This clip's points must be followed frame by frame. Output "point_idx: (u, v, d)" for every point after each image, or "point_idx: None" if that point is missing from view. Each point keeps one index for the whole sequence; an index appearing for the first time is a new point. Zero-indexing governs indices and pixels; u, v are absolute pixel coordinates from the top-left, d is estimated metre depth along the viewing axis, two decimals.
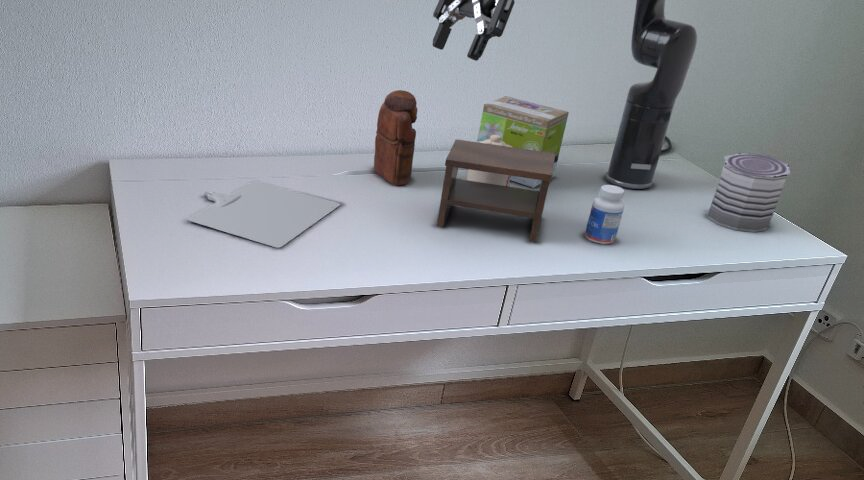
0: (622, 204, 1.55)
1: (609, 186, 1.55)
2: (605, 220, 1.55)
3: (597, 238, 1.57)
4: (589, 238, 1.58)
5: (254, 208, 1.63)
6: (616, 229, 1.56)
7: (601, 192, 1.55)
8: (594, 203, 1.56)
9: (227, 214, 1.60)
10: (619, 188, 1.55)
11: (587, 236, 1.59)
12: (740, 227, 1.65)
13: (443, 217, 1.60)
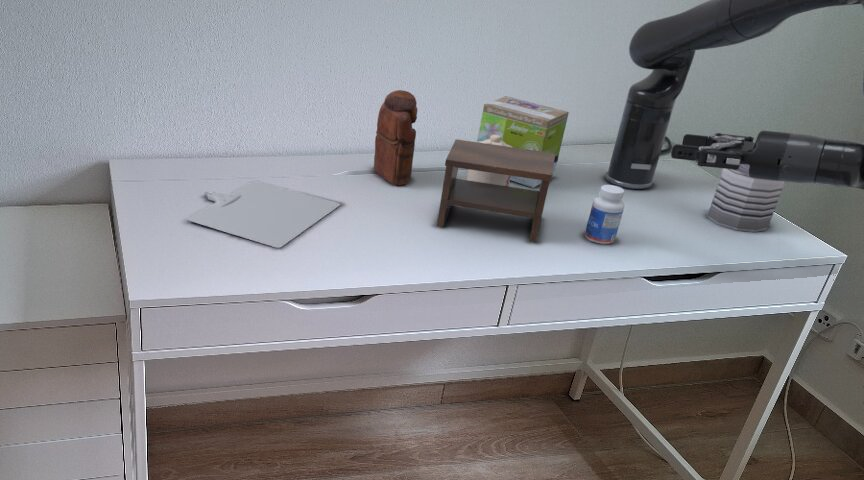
0: (622, 204, 1.55)
1: (609, 186, 1.55)
2: (605, 220, 1.55)
3: (597, 238, 1.57)
4: (589, 238, 1.58)
5: (254, 208, 1.63)
6: (616, 229, 1.56)
7: (601, 192, 1.55)
8: (594, 203, 1.56)
9: (227, 214, 1.60)
10: (619, 188, 1.55)
11: (587, 236, 1.59)
12: (740, 227, 1.65)
13: (443, 217, 1.60)
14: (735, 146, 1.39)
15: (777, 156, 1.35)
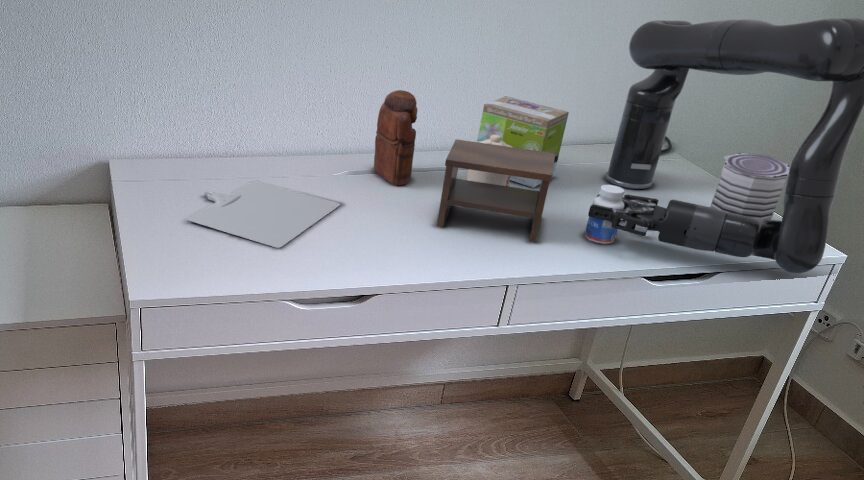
0: (622, 204, 1.55)
1: (609, 186, 1.55)
2: (605, 220, 1.55)
3: (597, 238, 1.57)
4: (589, 238, 1.58)
5: (254, 208, 1.63)
6: (616, 229, 1.56)
7: (601, 192, 1.55)
8: (594, 203, 1.56)
9: (227, 214, 1.60)
10: (619, 188, 1.55)
11: (587, 236, 1.59)
12: None
13: (443, 217, 1.60)
14: (648, 213, 1.51)
15: (684, 227, 1.48)
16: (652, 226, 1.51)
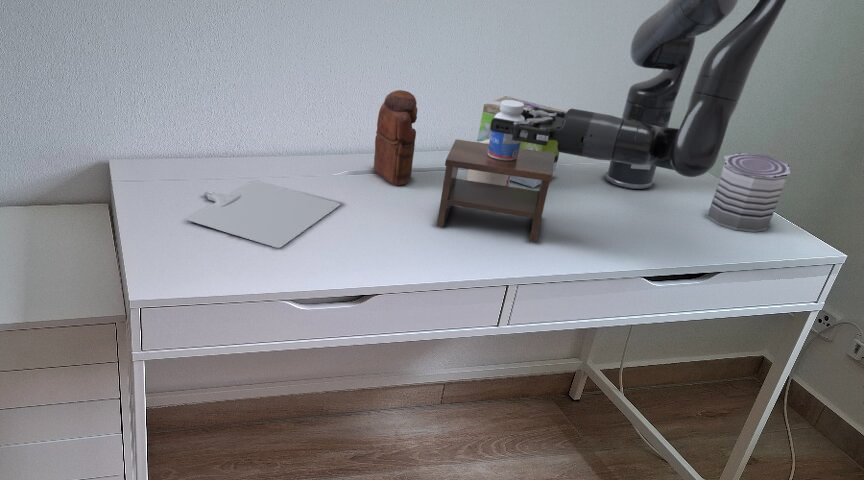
0: (522, 119, 1.52)
1: (509, 101, 1.53)
2: (505, 135, 1.52)
3: (498, 154, 1.55)
4: (491, 155, 1.56)
5: (254, 208, 1.63)
6: (517, 145, 1.54)
7: (501, 106, 1.52)
8: None
9: (227, 215, 1.60)
10: (519, 102, 1.52)
11: (489, 153, 1.56)
12: (740, 227, 1.65)
13: (443, 217, 1.60)
14: (546, 122, 1.49)
15: (581, 134, 1.45)
16: (550, 135, 1.48)
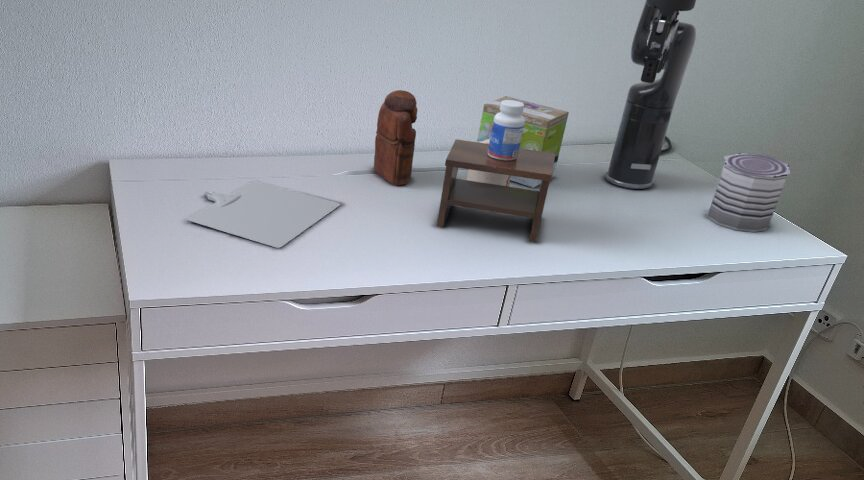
0: (522, 119, 1.52)
1: (509, 101, 1.53)
2: (505, 135, 1.52)
3: (498, 154, 1.55)
4: (491, 155, 1.56)
5: (254, 208, 1.63)
6: (517, 145, 1.54)
7: (501, 106, 1.52)
8: (494, 118, 1.53)
9: (227, 214, 1.60)
10: (519, 102, 1.52)
11: (489, 153, 1.56)
12: (740, 227, 1.65)
13: (443, 217, 1.60)
14: None
15: None
16: (665, 19, 1.42)
